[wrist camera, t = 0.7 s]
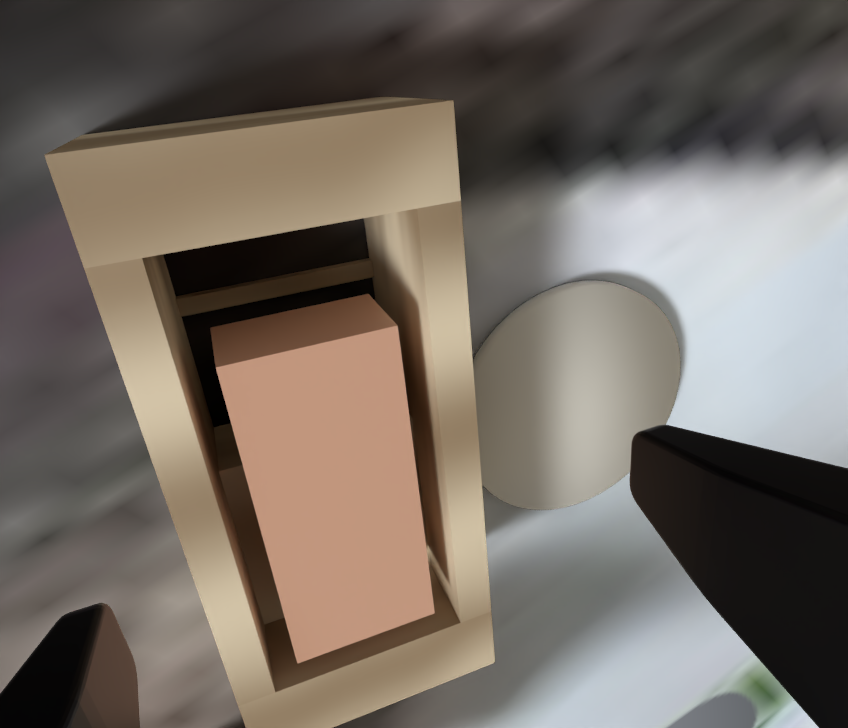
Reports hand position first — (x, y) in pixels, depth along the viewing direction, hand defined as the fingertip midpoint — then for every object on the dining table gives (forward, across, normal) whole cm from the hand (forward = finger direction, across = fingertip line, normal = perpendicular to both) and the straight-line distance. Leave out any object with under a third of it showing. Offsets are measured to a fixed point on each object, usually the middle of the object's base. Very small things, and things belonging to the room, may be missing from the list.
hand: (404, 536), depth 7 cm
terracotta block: (+10, 0, +5) cm, 11 cm away
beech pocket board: (+12, 0, +4) cm, 13 cm away
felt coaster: (+12, -10, +7) cm, 17 cm away
